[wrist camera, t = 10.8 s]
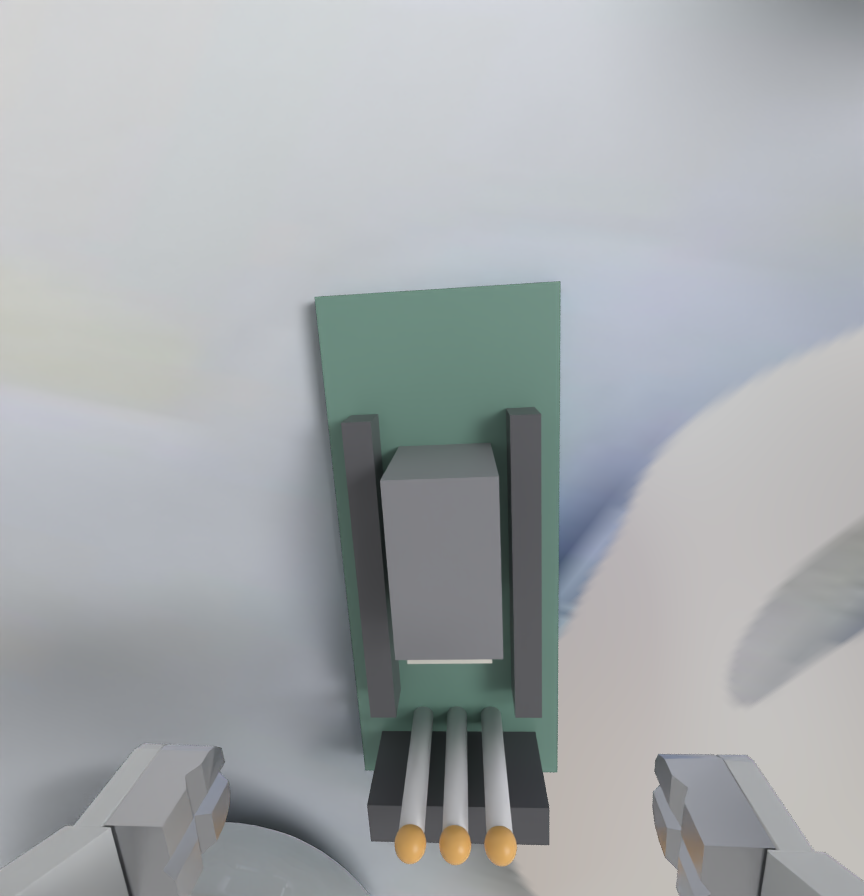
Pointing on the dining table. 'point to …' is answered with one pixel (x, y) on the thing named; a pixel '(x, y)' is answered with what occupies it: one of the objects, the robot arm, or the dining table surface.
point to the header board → (522, 555)
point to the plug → (444, 553)
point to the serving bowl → (270, 866)
